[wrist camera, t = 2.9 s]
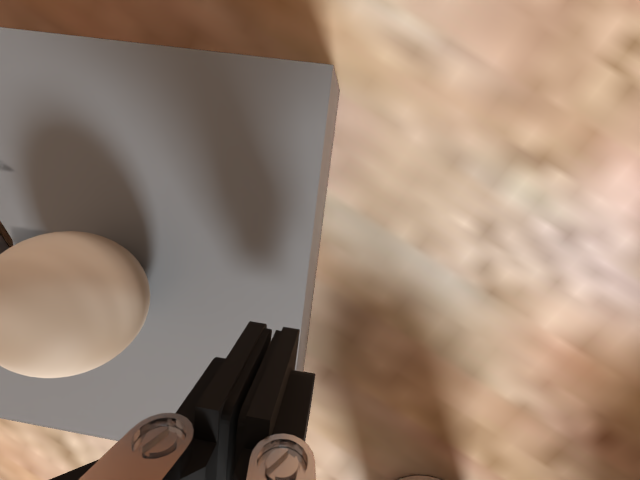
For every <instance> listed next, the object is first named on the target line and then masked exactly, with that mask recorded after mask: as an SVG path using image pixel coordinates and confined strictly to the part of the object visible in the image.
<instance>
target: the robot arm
mask: <svg viewBox="0 0 640 480" xmlns="http://www.w3.org/2000/svg"><path fill="white" fill-rule="evenodd" d="M299 333H300V329H295V328H289V327H283V328H282V331H279V330H276V331H275V334H274V336H273V338H272V340H271V336H272V329H267V325H266V324H264V323H258V322H252V321H250V322H249V323H248V324H247V326H246V328H245V329H244V331H243V332H242V334H241V335H240V337H239V339H238V340H237V342H236V343H235V345H234V346H233V348H232V350H231V351H230V353H229V354H228V356H227V357H226V358H220V357H215V358H214V359H213V360H212V361H211V363H210V364H209V366H208V367H207V369H206V370H205V371H204V373H203V374H202V376H201V377H200V379H199V380H198V381H197V383H196V384H195V386H194V387H193V389H192V390H191V392H190V393H189V394H188V396H187V397H186V399H185V400H184V402H183V403H182V404H181V406H180V407H179V409H178V410H177V412H176V413H161V414H157V415H153V416H150V417H148V418H146V419H144V420H142V421H140V422H139V423H138V424H137V425H135V426H134V427H133V428H132V429H131V430H129V431H128V432H127V433H126V434H125V435H124V436H123V437H122V438H121V439H120V440H119V441H118V442H117V443H116V444H115V445H114V446H113V447H112V448H111V449H110V450H109V451H108V452H107V453H106V454H105V455H103V456H102V457H101V458H100V459H99V460H97V461H94V462H92V463H89V464H87V465H84V466H82V467H79V468H77V469H75V470H72V471H70V472H67V473H65V474H62V475H60V476H57V477H55V478H52V479H50V480H316V473H315V459H314V455H313V452H312V450H311V449H310V447H309V445H308V444H306V443H305V438H306V432H307V426H308V420H309V414H310V408H311V401H312V394H313V387H314V380H315V374H313V373H308V372H302V371H296V370H295V365H296V357H297V349H298V341H299Z"/></svg>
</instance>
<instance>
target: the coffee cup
mask: <svg viewBox="0 0 640 480" xmlns="http://www.w3.org/2000/svg"><path fill="white" fill-rule="evenodd" d="M398 480H440V479H437V478H434V477H430V476H408V477H404V478H401V479H398Z"/></svg>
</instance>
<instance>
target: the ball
mask: <svg viewBox="0 0 640 480" xmlns="http://www.w3.org/2000/svg"><path fill="white" fill-rule="evenodd" d="M149 305H150V288H149V283H148V279H147V276H146V274H145V272H144V269H143V268H142V266H141V264H140V263H139V262H138V260H137V259H136V258H135V257H134V256H133V255H132V254H131V253H130V252H129V251H128V250H127V249H125V248H124V247H123V246H121V245H119V244H118V243H116V242H114V241H112V240H110V239H108V238H105V237H103V236H100V235H96V234H92V233H87V232H78V231H62V232H52V233H47V234H42V235H38V236H35V237H32V238H29V239H26V240H24V241H21V242H19V243H18V244H16V245H14V246H12V247H10V248H9V249H7V250H5V251H4V252H3V253H1V254H0V366H2V367H3V368H5V369H7V370H9V371H12V372H15V373H18V374H21V375H25V376H29V377H37V378H60V377H68V376H73V375H77V374H81V373H85V372H87V371H90V370H92V369H95V368H97V367H99V366H101V365H103V364H105V363H107V362H108V361H110V360H111V359H113V358H114V357H116V356H117V355H118V354H120V353H121V352H122V351H123V350H124V349H125V348H126V347H127V346H128V345H129V344H130V343H131V342H132V341H133V340H134V339H135V337H136V336H137V334H138V333H139V332H140V330H141V328H142V326H143V324H144V322H145V320H146V317H147V314H148V310H149Z"/></svg>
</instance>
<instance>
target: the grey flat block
mask: <svg viewBox="0 0 640 480" xmlns="http://www.w3.org/2000/svg"><path fill="white" fill-rule="evenodd" d="M339 92H340V90H339V86H338V82H337V78H336V74H335V70H334V66H333V65H329V64H320V63H312V62H303V61H294V60H285V59H276V58H268V57H259V56H250V55H241V54H232V53H223V52H215V51H206V50H197V49H188V48H179V47H171V46H162V45H153V44H144V43H135V42H127V41H118V40H109V39H100V38H91V37H82V36H74V35H65V34H56V33H47V32H38V31H30V30H21V29H12V28H3V27H0V221H1V223H2V224H3V226H4V227H5V229H6V231H7V232H8V234H9V235H10V237H11V238H12V240H13V246H14V245H16V244H18V243H19V242H21V241H24V240H26V239H29V238H32V237H35V236H38V235H42V234H47V233H52V232H62V231H78V232H87V233H92V234H96V235H100V236H103V237H105V238H108V239H110V240H112V241H114V242H116V243H118V244H119V245H121V246H123V247H124V248H125V249H127V250H128V251H129V252H130V253H131V254H132V255H133V256H134V257H135V258H136V259H137V260H138V262H139V263H140V264H141V266H142V268H143V269H144V272H145V274H146V276H147V279H148V283H149V288H150V305H149V310H148V314H147V317H146V320H145V322H144V324H143V326H142V328H141V330H140V332H139V333H138V334H137V336H136V337H135V339H134V340H133V341H132V342H131V343H130V344H129V345H128V346H127V347H126V348H125V349H124V350H123V351H122V352H121V353H120V354H118V355H117V356H116V357H114V358H113V359H111V360H110V361H108V362H107V363H105V364H103V365H101V366H99V367H97V368H95V369H92V370H90V371H87V372H85V373H81V374H77V375H73V376H68V377H60V378H37V377H29V376H25V375H21V374H18V373H15V372H12V371H9V370H7V369H5V368H3V367H2V366H0V418H2V419H7V420H12V421H17V422H23V423H28V424H33V425H38V426H43V427H48V428H54V429H59V430H64V431H69V432H74V433H79V434H85V435H90V436H95V437H100V438H105V439H110V440H116V441H119V440H120V439H121V438H122V437H123V436H124V435H125V434H126V433H127V432H128V431H129V430H131V429H132V428H133V427H134V426H135V425H137V424H138V423H139V422H140V421H142V420H144V419H146V418H148V417H150V416H153V415H157V414H161V413H176V412H177V410H178V409H179V407H180V406H181V404H182V403H183V402H184V400H185V399H186V397H187V396H188V394H189V393H190V392H191V390H192V389H193V387H194V386H195V384H196V383H197V381H198V380H199V379H200V377H201V376H202V374H203V373H204V371H205V370H206V369H207V367H208V366H209V364H210V363H211V361H212V360H213V359H214V358H215V357H220V358H226V357H227V356H228V354H229V353H230V351H231V350H232V348H233V346H234V345H235V343H236V342H237V340H238V339H239V337H240V335H241V334H242V332H243V331H244V329H245V328H246V326H247V324H248V323H249V322H250V321H252V322H258V323H264V324H266V325H267V329H272V336H271V340H272V338H273V336H274V334H275V331H276V330H279V331H282V328H283V327H289V328H295V329H300V333H299V341H298V349H297V357H296V365H295V370H296V371H302V372H303V370H304V362H305V355H306V347H307V339H308V331H309V324H310V316H311V308H312V300H313V293H314V285H315V277H316V270H317V262H318V254H319V246H320V239H321V231H322V223H323V215H324V208H325V200H326V192H327V185H328V177H329V169H330V161H331V154H332V146H333V138H334V130H335V123H336V115H337V107H338V100H339ZM7 249H9V247H8V245H7V244H6V242H5V240H4V239H3V237H2V236H1V234H0V254H1V253H3V252H4V251H5V250H7Z"/></svg>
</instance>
